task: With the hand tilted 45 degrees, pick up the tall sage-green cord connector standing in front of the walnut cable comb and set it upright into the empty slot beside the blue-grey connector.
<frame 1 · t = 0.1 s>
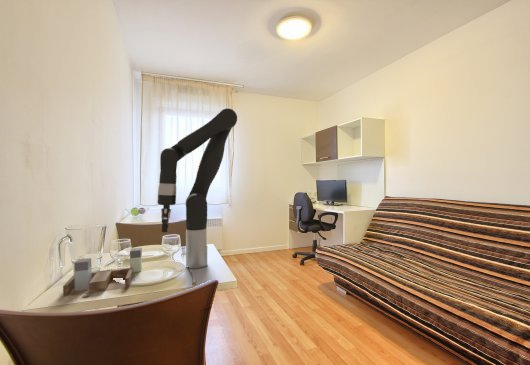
hand: (165, 230, 112), 17 cm above the table, tool pointing down, fingers open, 8 cm apart
green connector: (136, 272, 108), on the table
comb rack: (101, 287, 93), on the table
grey connector: (83, 287, 91), point 1 cm above the table, touching comb rack
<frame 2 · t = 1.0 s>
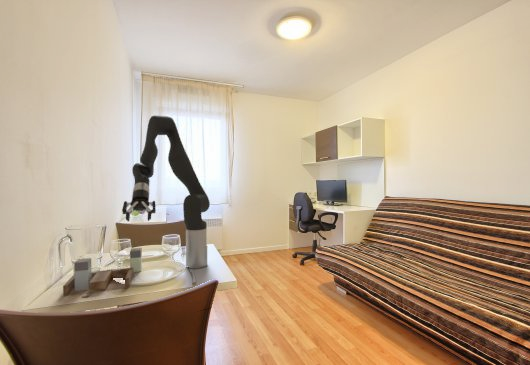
hand: (138, 220, 118), 21 cm above the table, tool tilted 45°, fingers open, 8 cm apart
nothing on the table moved.
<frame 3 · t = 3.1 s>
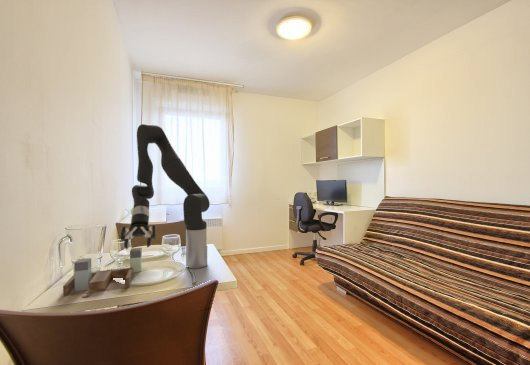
hand: (137, 247, 112), 10 cm above the table, tool tilted 45°, fingers open, 8 cm apart
nothing on the table moved.
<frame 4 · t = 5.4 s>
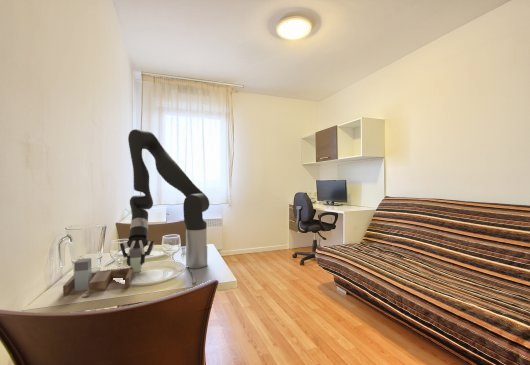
hand: (135, 264, 106), 4 cm above the table, tool tilted 45°, fingers closed on green connector, 4 cm apart
green connector: (136, 272, 108), on the table, touching gripper
everything else where it was.
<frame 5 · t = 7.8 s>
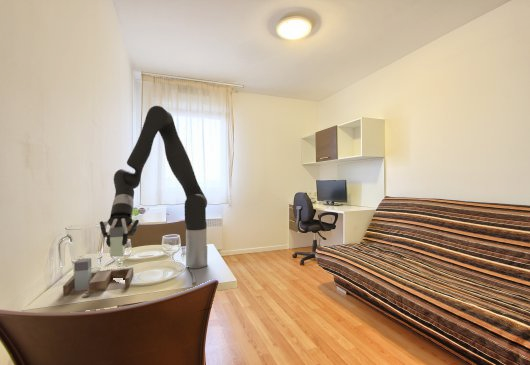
hand: (116, 244, 93), 16 cm above the table, tool tilted 45°, fingers closed on green connector, 4 cm apart
green connector: (117, 254, 95), point 12 cm above the table, touching gripper
everything else where it was.
when the fingers open (6 cm above the table, at t = 10.4 s): green connector drops 1 cm, resting on comb rack.
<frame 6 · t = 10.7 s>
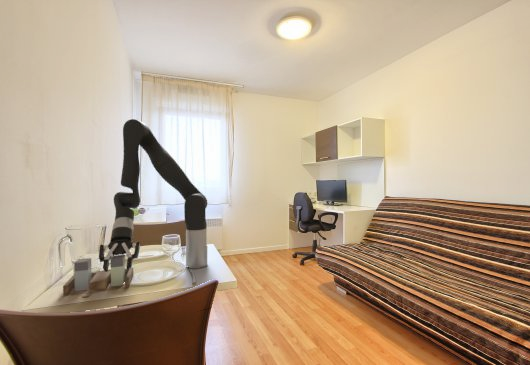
hand: (117, 269, 93), 7 cm above the table, tool tilted 45°, fingers open, 6 cm apart
green connector: (118, 283, 95), point 1 cm above the table, touching comb rack
everything else where it was.
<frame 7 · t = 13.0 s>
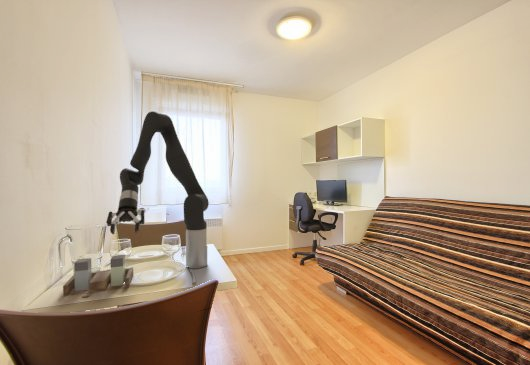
hand: (124, 232, 106), 18 cm above the table, tool tilted 45°, fingers open, 8 cm apart
nothing on the table moved.
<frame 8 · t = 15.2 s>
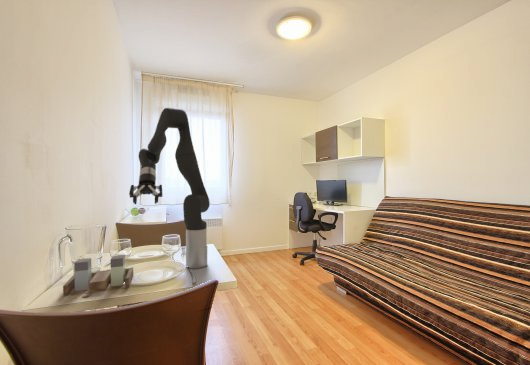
hand: (145, 202, 117), 29 cm above the table, tool tilted 45°, fingers open, 8 cm apart
nothing on the table moved.
at the end: green connector 0.3 cm from the target spot on the comb rack, point 1.0 cm above the comb rack's base; green connector tilted 0°; grey connector moved 0.0 cm from its start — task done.
